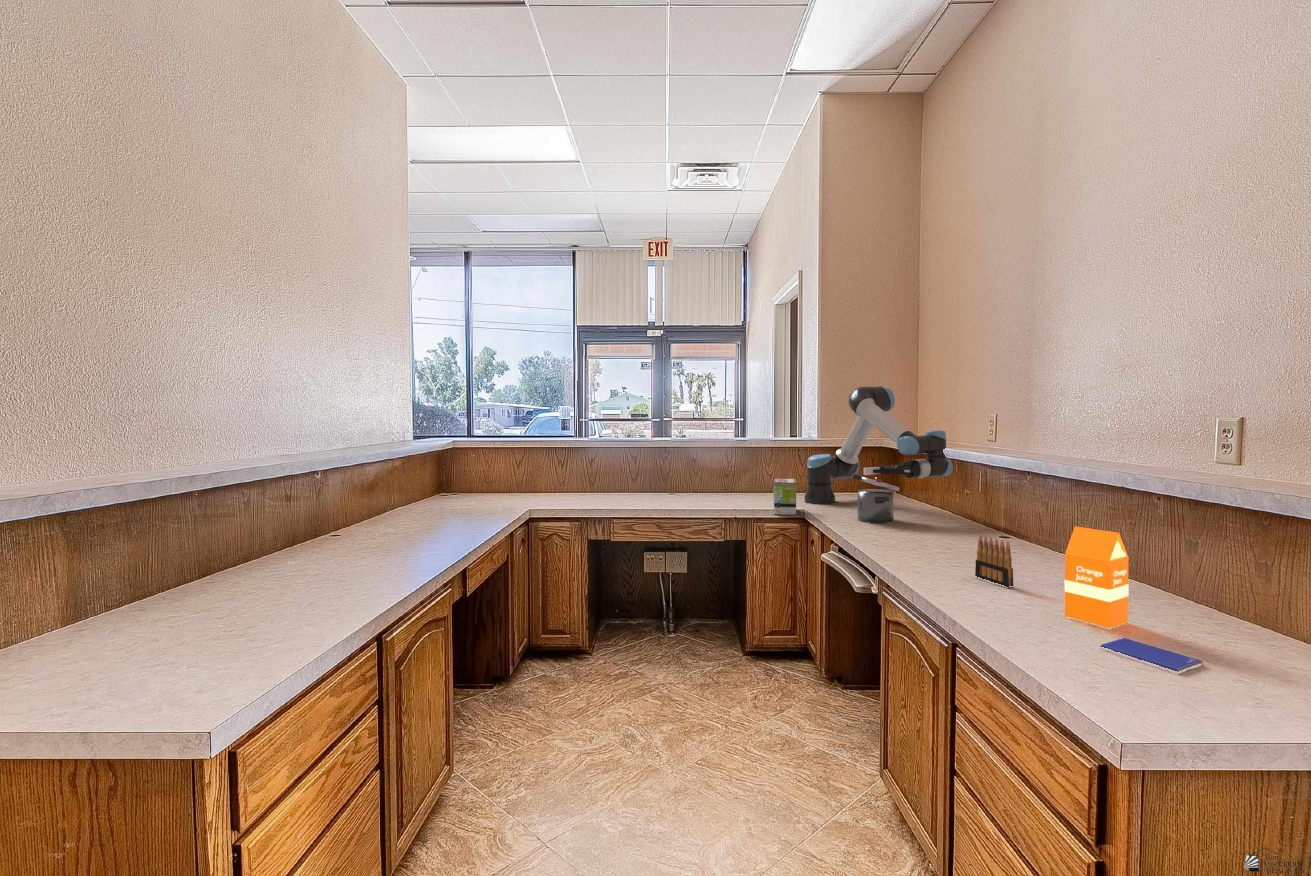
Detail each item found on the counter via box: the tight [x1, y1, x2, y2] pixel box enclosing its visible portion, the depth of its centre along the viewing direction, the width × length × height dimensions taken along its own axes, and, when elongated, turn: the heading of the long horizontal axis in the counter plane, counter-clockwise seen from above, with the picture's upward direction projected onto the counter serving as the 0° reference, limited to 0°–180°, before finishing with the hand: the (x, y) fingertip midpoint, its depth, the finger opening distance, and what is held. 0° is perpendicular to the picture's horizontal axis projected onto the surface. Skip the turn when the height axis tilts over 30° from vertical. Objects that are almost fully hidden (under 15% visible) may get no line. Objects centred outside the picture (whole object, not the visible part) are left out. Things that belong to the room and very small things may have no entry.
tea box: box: [773, 478, 797, 516], centre depth 274 cm, size 15×10×15 cm, turn 168°
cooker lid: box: [850, 473, 901, 492], centre depth 249 cm, size 15×19×3 cm
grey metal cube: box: [857, 488, 895, 524], centre depth 249 cm, size 18×14×12 cm
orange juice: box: [1064, 526, 1130, 628], centre depth 130 cm, size 8×9×20 cm
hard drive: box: [1100, 637, 1204, 672], centre depth 111 cm, size 2×8×12 cm
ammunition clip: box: [974, 534, 1014, 587], centre depth 159 cm, size 11×2×12 cm, turn 17°
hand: (864, 471), depth 244 cm, fingers closed
